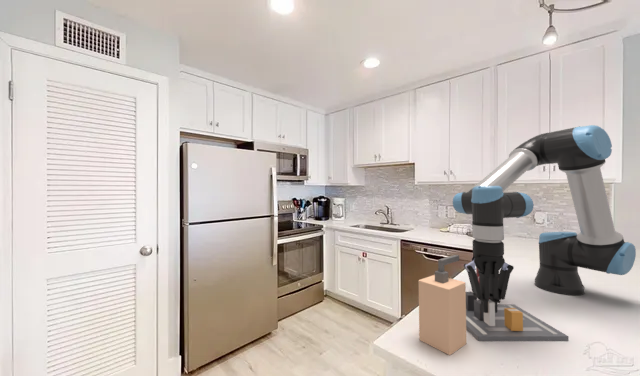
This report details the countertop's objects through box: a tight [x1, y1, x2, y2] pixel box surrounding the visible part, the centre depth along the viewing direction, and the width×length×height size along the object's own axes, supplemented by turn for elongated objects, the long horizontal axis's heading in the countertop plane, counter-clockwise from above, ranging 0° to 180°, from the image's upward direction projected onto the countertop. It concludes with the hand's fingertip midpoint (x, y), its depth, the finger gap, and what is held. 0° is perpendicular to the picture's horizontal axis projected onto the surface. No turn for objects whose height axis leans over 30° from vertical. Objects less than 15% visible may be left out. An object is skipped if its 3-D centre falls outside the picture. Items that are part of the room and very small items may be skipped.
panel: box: [466, 291, 569, 342], centre depth 80 cm, size 24×20×6 cm
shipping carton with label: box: [504, 308, 523, 331], centre depth 74 cm, size 3×3×5 cm
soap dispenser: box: [418, 254, 468, 356], centre depth 72 cm, size 13×9×22 cm
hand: (489, 323), depth 74 cm, fingers closed
